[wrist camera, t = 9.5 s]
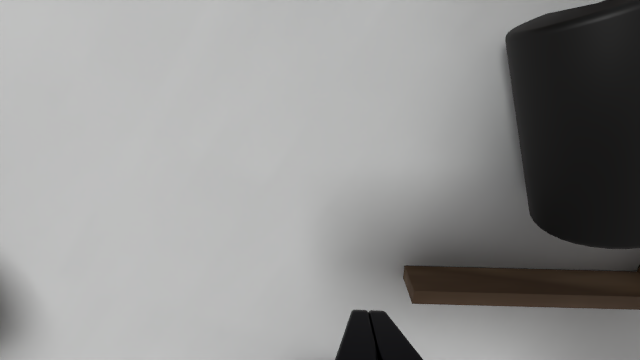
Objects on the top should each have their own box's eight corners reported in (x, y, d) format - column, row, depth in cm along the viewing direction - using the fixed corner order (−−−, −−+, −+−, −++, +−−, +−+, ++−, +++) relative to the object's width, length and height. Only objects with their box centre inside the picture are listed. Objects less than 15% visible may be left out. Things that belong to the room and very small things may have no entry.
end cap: (473, 39, 16) (568, 26, 10) (619, -16, 15) (828, -71, 9) (502, 200, 19) (585, 267, 13) (622, 164, 18) (775, 218, 12)
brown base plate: (645, 283, 21) (684, 310, 19) (403, 277, 22) (412, 303, 19) (820, -65, 14) (918, -89, 12) (451, -69, 14) (476, -94, 12)
